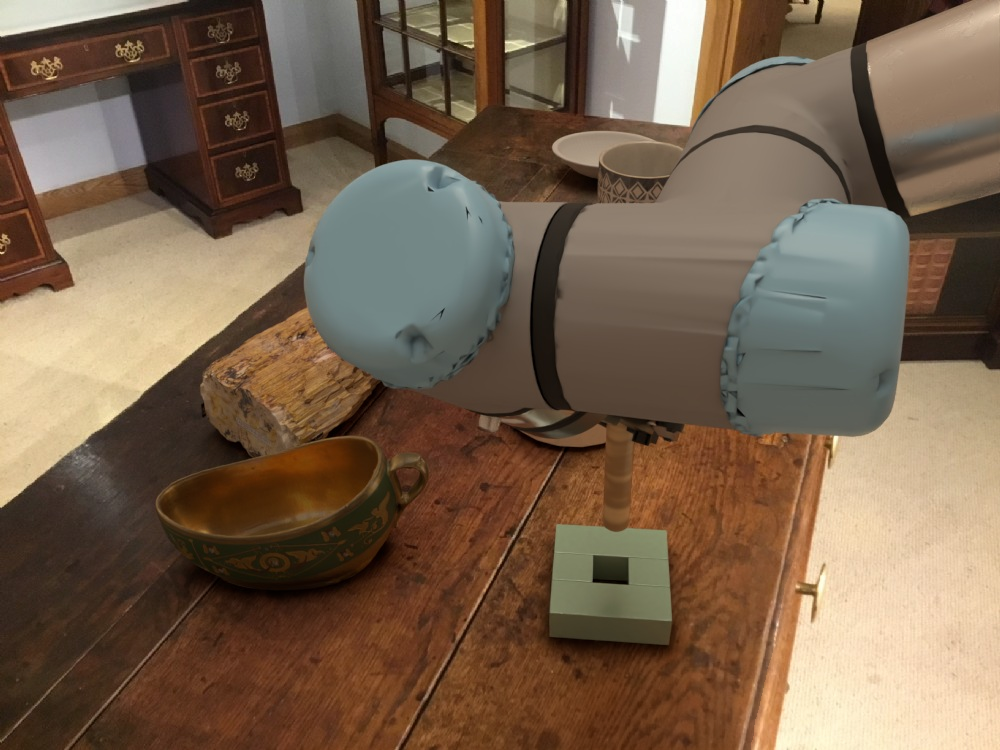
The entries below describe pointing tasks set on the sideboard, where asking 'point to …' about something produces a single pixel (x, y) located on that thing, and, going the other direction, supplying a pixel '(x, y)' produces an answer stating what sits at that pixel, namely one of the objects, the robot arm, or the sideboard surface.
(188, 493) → the creamer
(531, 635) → the sideboard surface
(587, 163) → the dish
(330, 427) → the petrified wood
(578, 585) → the holder
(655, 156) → the planter
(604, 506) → the stick
